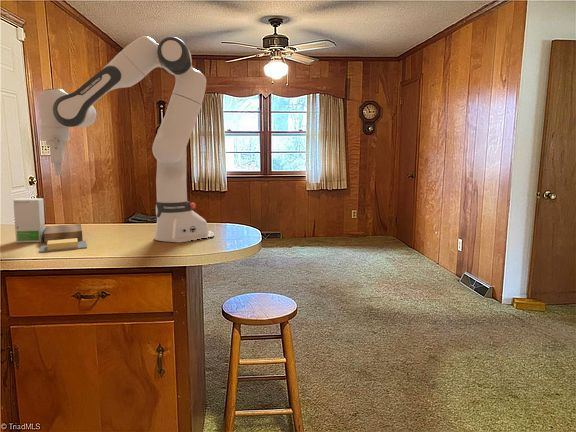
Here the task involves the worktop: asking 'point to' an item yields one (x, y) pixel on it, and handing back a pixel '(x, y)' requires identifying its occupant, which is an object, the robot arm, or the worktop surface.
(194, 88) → the robot arm
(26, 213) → the skincare box
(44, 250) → the mat
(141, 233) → the worktop surface
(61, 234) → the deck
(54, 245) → the yellow rectangular block
